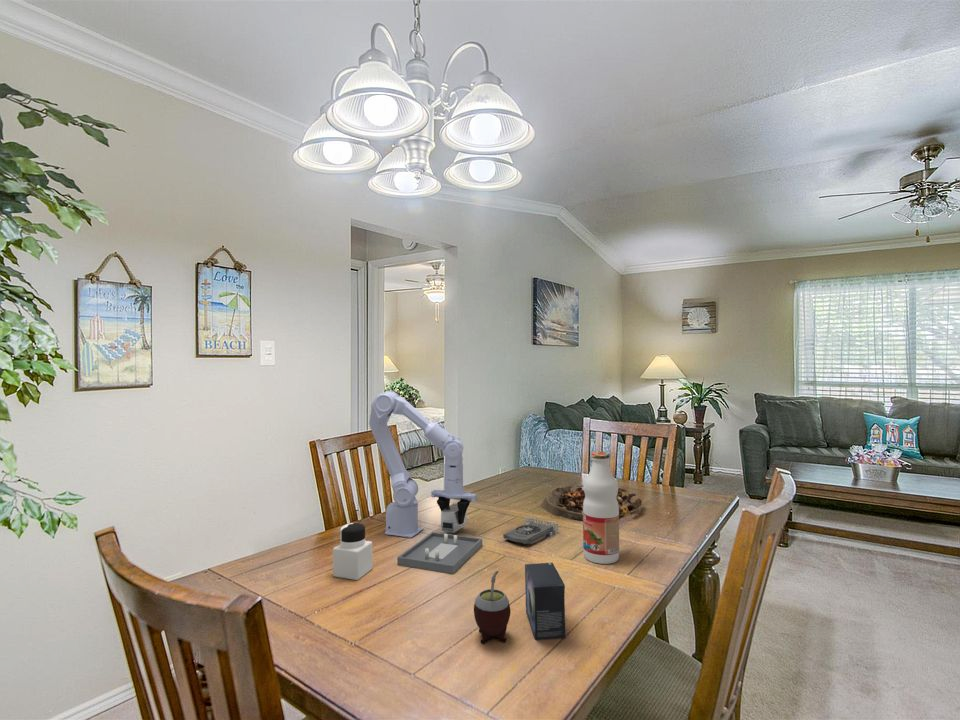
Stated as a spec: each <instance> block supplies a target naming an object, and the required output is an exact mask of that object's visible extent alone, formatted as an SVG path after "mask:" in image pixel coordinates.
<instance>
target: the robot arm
mask: <svg viewBox="0 0 960 720" xmlns="http://www.w3.org/2000/svg"><path fill="white" fill-rule="evenodd" d="M370 407H371V410H370V415H369V421H368V424H369V425H368V426H369V428H370V430H371V432H372V435H373V437H374V440H375V442H376V444H377V447H378V449H379V451H380V455H381V457H382V459H383V462H384V464H385V467H386V469H387V471H388V473H389V476H390V478H391V479H390V481H391V488H392V491H393V493H392V498H393V502H390V503H388V505H387V506H386V511H385V532H384V535H388V536H395V537H396V536H397V537H404V538H409V539H410V538H413V537H414V536H416V535H418V534H419V533H421V532H422V531H423V530H424V527H419V506H418V505H419V504H418V503H419V501H418V499H417V498H416V496H417V494H418V492H419V484H418V483H417V482H416V481H415V480H414V479H413V478H412V477H411V473H410V472H409V471H408V470H407V469H406V466H405V465H404V461H403V459H402V456H401V455H400V452H399V449H398V448H397V445H396V442H395V440H394V437H393V436H392V435H393V434H392V433H391V430H390V427H389V426H388V422H389V421H390V418H391V416H392V414H393V415H402V416H404V417H405V418H407V419H408V420H409V421H411V422H413V424H415V425H416V426H417V427H418V428H420V430H422V431H423V433H424V434H423V435H424V437H425V438H426V440H428V441H429V442H430V443H431V444H433V445H434V446H435V447H436V448H437V449H439V450H441V451H442V454H443V456H444V464H443V465H444V469H443V470H444V474H443V475H444V489H433V490H431V493H430V495H431V498H438V499H437V500H436V504H437V506H438V507H439V509H440V512H441V511H442V510H444V509H445V508H447V507H448V506H450V505H451V504H450V503H451V500H459V501H458V502H457V503H456V504H457V505H458V511H459V524H463V523H464V518H465V514H466V515H467V510H468V508H469V506H470V503H471V502H472V503H475V502H477V500H478V497H477V496H478V494H477V493H472V492H469V491H468V492H467V491H464V464H463V460H464V458H463V452H464V444H463V442H462V441H461V440H460V438H458V437H456V435H455V434H451V433H450V432H449V431H447V430H446V429H445V428H444V424H443V423H441V422H440V423H438V422H431V421H430V420H428V419H427V418H426V417H425V416H424V415H423V414H422V413H421V412H419V410H418V409H416V408H415V407H414V406H413V405H412V404H411V403H410V402H408V400H407V399H405V398H404V397H402V396H401V395H399V394H398V393H397V392H395V391H393V390H387V391H385V392H380V393H378V394H377V395H375V397H374V399H373V400H372V402H371V405H370Z"/></svg>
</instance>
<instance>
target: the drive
mask: <svg viewBox="0 0 960 720" xmlns="http://www.w3.org/2000/svg"><path fill="white" fill-rule="evenodd" d="M440 523H441V524H440V531H441V532H444V533H452V534H455V533H457V531H459V530H460V529H462V528H463V527H464V526H465V525H466V524H467V513H466V514H465V518H464V523H463V524H459V511H458V505H457V503H455V502H454V503H452V504H450V505H449V506H448V507H447V508H445V509H444V510H442V511H441V510H440Z"/></svg>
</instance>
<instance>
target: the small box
mask: <svg viewBox="0 0 960 720" xmlns="http://www.w3.org/2000/svg"><path fill="white" fill-rule="evenodd" d="M524 580H525V581H524V583H525V614H526V616H527V619H528V622H529V625H530V629H531V632H532V635H533V636H534V637H533V638H534V640H536V641H539V640H554V639H555V640H556V639H566V637H567V633H566V632H567V631H566V608H565V607H566V603H565V602H566V601H565V589H566V586H565V583H564V581H563V579H562V577H561V576H560V574H559V572H558V570H557V567H556V566H555V565H554V563H553V562H542V563H540V562H538V563H525V564H524Z"/></svg>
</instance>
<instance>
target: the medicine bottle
mask: <svg viewBox="0 0 960 720" xmlns="http://www.w3.org/2000/svg"><path fill="white" fill-rule="evenodd" d="M339 533H340V536H339V537H340V544H338V545H337V546H334V547H333V549H332V571H333V572H332V573H333V574H332V576H333V577H335V578H341V579H348V580H353V581H359V579H361V578H363V577H364V576H366V574H367V573H369V572H371V570H373V563H374V562H373V560H374V559H373V542H372V541H370V540H366V526H365V524H363V523H359V522H349V523H346V524H344V525H342V526H341V527H340V531H339Z"/></svg>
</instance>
